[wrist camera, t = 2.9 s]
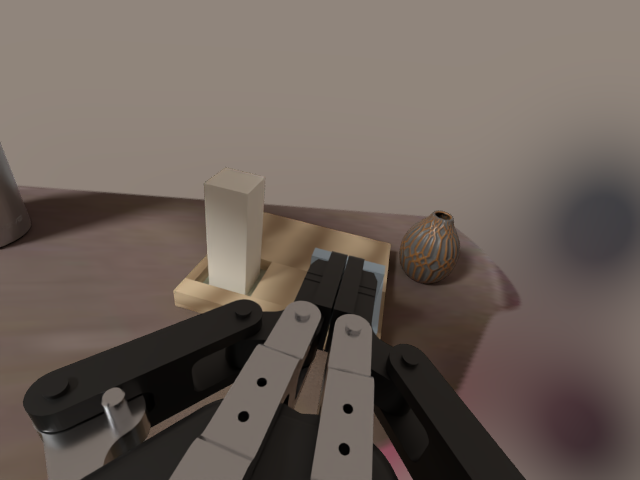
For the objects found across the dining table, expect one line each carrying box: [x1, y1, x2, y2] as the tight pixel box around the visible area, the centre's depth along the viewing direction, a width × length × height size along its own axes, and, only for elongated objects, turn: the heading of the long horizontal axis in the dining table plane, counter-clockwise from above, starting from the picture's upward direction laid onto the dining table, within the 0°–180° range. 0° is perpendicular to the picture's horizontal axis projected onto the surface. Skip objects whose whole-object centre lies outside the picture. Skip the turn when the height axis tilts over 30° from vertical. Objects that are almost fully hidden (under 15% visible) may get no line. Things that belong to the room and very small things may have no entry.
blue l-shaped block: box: [310, 248, 385, 335], centre depth 32 cm, size 8×8×7 cm
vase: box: [399, 211, 460, 283], centre depth 41 cm, size 7×7×9 cm
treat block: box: [204, 168, 265, 295], centre depth 33 cm, size 4×4×12 cm
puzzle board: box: [174, 212, 391, 350], centre depth 39 cm, size 20×18×2 cm
